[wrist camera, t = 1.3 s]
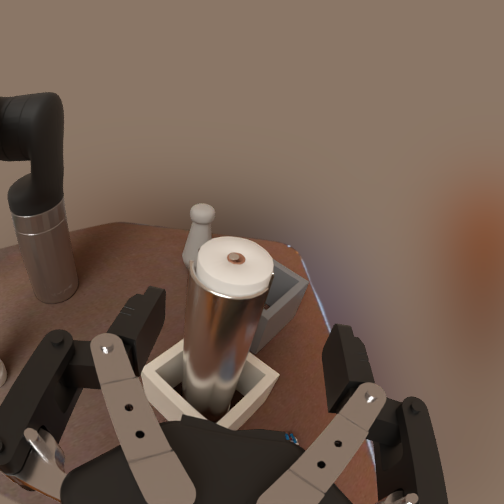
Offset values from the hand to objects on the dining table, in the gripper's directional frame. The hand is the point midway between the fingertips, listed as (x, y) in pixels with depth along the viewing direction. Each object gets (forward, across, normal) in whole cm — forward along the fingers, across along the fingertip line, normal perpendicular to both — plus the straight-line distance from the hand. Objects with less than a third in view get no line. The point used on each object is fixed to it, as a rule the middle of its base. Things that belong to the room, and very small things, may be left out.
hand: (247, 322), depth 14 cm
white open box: (+12, +2, +26) cm, 29 cm away
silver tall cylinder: (+12, +2, +26) cm, 29 cm away
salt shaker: (+39, +10, +22) cm, 46 cm away
